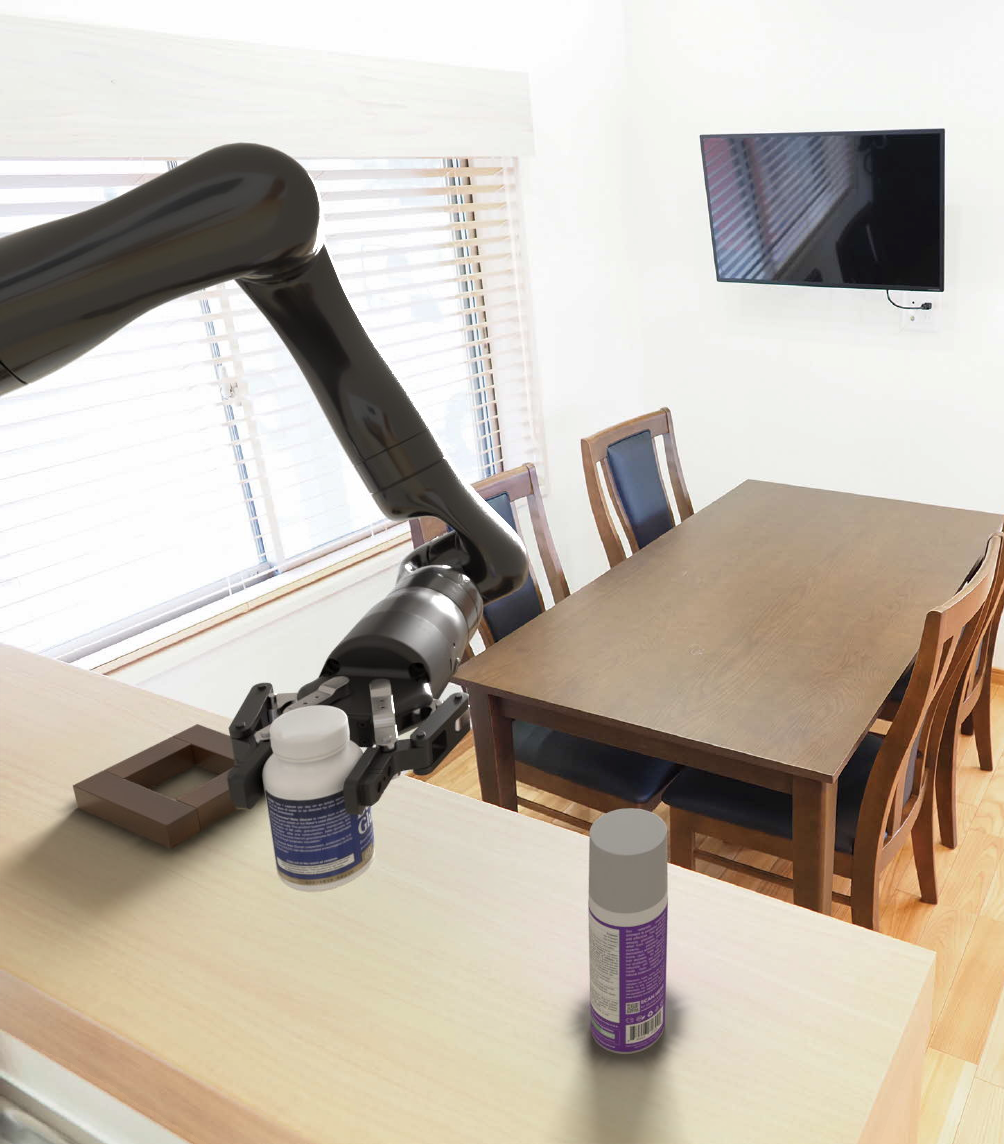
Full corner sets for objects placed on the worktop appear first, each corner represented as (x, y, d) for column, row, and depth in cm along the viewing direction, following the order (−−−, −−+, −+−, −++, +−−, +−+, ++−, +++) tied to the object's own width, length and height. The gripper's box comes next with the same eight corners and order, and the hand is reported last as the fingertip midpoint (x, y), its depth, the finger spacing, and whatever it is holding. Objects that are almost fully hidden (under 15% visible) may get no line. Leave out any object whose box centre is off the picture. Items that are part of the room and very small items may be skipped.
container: (667, 999, 63) (671, 807, 58) (662, 1059, 59) (666, 858, 54) (595, 998, 63) (593, 805, 58) (585, 1058, 59) (581, 856, 53)
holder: (172, 852, 74) (166, 825, 73) (78, 811, 78) (72, 785, 77) (290, 781, 84) (287, 756, 83) (201, 747, 88) (197, 723, 87)
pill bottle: (384, 878, 57) (369, 734, 53) (283, 907, 54) (259, 757, 50) (367, 826, 61) (351, 690, 57) (272, 851, 58) (250, 710, 55)
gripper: (291, 603, 67) (149, 733, 51) (500, 614, 67) (423, 746, 52) (304, 698, 70) (172, 849, 54) (505, 708, 70) (432, 860, 54)
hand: (296, 798), depth 53 cm, fingers closed on pill bottle, 5 cm apart
